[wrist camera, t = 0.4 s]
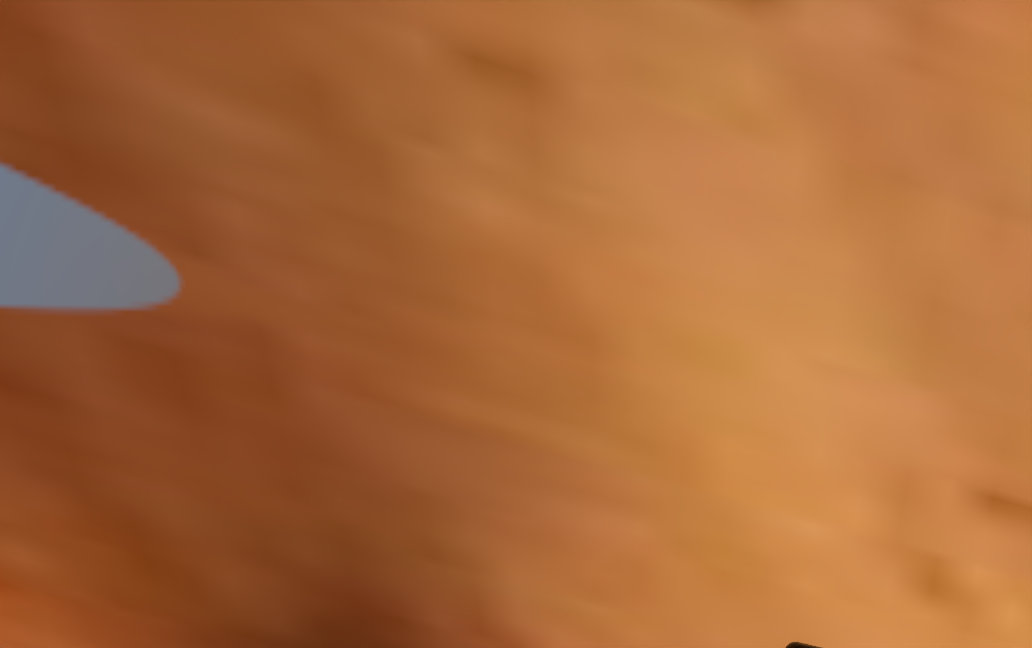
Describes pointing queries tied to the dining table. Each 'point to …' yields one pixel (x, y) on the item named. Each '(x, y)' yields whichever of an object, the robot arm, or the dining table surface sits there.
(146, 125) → the dining table surface
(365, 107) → the dining table surface
